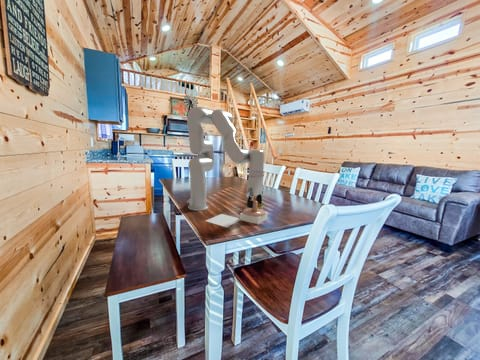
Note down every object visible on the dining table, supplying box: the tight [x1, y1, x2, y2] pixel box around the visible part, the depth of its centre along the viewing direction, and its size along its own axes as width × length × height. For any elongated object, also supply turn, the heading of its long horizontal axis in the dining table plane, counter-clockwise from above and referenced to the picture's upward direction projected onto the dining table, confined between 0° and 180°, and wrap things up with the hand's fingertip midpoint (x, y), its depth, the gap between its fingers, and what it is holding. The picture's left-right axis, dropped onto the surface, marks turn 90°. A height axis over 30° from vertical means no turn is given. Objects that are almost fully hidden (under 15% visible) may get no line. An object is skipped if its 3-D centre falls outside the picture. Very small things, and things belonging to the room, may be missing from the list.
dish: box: [239, 211, 269, 225], centre depth 113 cm, size 11×11×4 cm
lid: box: [242, 201, 267, 217], centre depth 112 cm, size 12×12×6 cm
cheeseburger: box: [245, 196, 264, 210], centre depth 127 cm, size 10×11×10 cm
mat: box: [205, 213, 241, 228], centre depth 110 cm, size 14×14×1 cm
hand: (254, 205), depth 112 cm, fingers open, 9 cm apart
